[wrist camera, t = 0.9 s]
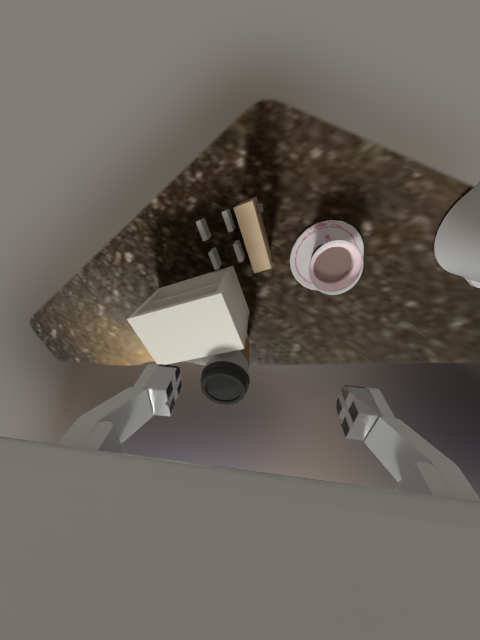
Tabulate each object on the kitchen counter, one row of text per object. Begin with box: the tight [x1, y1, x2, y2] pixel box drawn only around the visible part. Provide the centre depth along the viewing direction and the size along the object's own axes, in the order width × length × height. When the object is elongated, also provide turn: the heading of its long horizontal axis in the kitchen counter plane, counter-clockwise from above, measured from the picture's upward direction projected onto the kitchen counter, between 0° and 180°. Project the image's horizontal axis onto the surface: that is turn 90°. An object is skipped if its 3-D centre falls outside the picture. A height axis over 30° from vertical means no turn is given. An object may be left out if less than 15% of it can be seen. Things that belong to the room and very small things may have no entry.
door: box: [234, 197, 271, 273], centre depth 32 cm, size 3×8×10 cm, turn 19°
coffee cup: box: [201, 333, 249, 404], centre depth 42 cm, size 8×8×15 cm
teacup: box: [290, 220, 364, 295], centre depth 36 cm, size 12×12×6 cm
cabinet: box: [127, 209, 250, 365], centre depth 37 cm, size 19×19×12 cm
